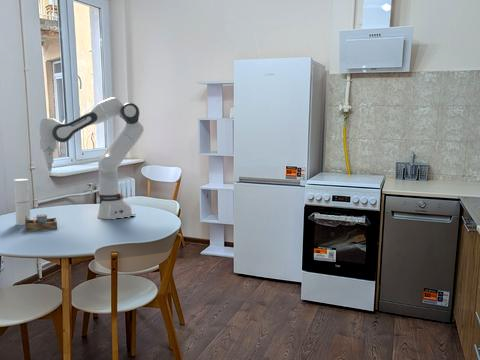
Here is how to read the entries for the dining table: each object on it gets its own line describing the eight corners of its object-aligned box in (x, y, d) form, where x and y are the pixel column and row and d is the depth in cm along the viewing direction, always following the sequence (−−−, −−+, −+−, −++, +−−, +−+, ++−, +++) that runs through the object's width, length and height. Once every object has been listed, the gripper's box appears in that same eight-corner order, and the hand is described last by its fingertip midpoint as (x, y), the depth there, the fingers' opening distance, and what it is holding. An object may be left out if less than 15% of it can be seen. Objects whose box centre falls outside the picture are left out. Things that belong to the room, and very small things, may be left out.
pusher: (36, 225, 222) (35, 217, 221) (36, 229, 216) (35, 220, 215) (33, 226, 222) (33, 217, 221) (33, 229, 215) (33, 220, 214)
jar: (47, 225, 224) (47, 214, 223) (47, 228, 219) (47, 216, 218) (36, 226, 221) (36, 214, 220) (36, 228, 217) (36, 216, 216)
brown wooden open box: (56, 224, 228) (55, 213, 227) (57, 229, 219) (56, 217, 218) (26, 227, 221) (25, 215, 220) (25, 232, 212) (25, 219, 211)
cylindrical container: (24, 225, 225) (22, 180, 222) (13, 224, 227) (10, 180, 223) (33, 222, 232) (31, 179, 229) (22, 221, 233) (20, 178, 230)
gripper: (55, 147, 229) (56, 171, 231) (53, 145, 247) (54, 167, 249) (43, 147, 226) (44, 172, 228) (42, 145, 244) (43, 168, 246)
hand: (49, 169), depth 239 cm, fingers open, 8 cm apart
